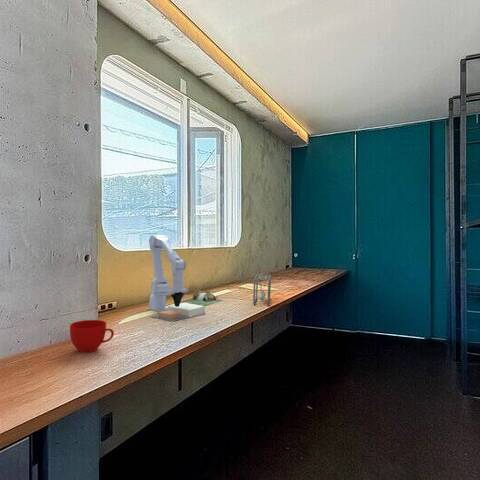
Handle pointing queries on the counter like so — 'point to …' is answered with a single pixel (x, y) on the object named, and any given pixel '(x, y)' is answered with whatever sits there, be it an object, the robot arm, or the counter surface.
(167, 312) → the tile
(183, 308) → the white platform
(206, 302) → the decorative card
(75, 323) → the ceramic cup
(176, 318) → the mat
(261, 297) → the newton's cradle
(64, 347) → the counter surface
